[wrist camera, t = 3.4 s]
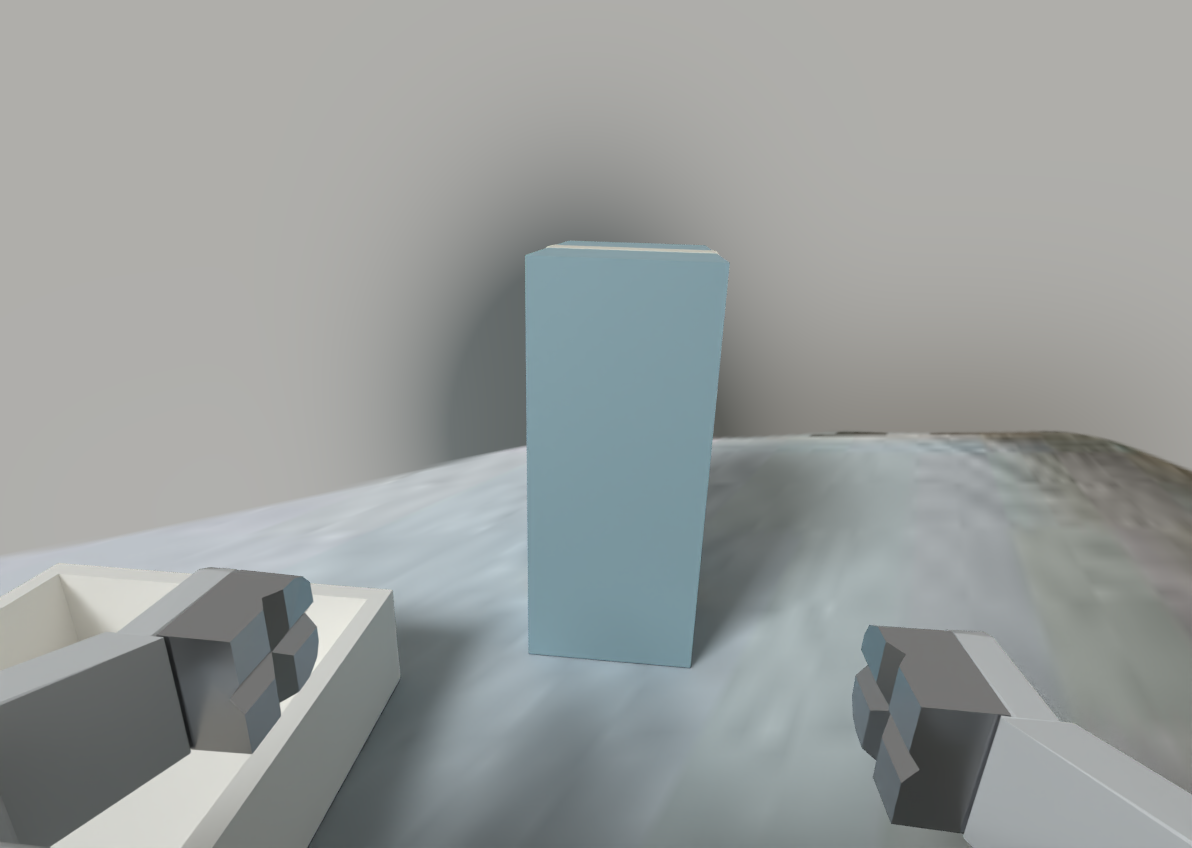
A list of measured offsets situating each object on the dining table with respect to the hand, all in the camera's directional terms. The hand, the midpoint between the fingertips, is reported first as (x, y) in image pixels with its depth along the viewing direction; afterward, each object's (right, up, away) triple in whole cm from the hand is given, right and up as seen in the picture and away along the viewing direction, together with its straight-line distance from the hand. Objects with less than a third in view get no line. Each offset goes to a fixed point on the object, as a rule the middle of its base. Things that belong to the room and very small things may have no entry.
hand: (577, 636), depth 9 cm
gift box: (+1, -3, +14) cm, 14 cm away
